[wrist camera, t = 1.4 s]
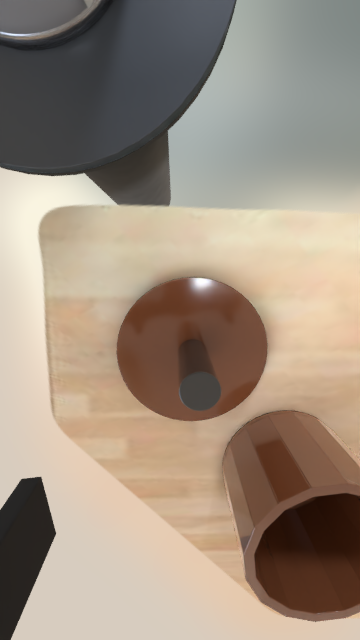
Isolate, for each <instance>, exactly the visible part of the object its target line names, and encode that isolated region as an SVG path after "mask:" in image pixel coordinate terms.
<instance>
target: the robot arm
mask: <svg viewBox="0 0 360 640" xmlns="http://www.w3.org/2000/svg"><path fill="white" fill-rule="evenodd" d="M112 2H113V0H0V45H2V46H6V47H10V48H14V49H20V50H44V49H50V48H54V47H58V46H61V45H64V44H66V43H68V42H70V41H73V40H74V39H76V38H78V37H79V36H81V35H83V34H84V33H85V32H86V31H88V30H89V29H90V28H91V27H92V26H93V25H94V24H96V23H97V22H98V21H99V19H100V18H101V17H102V16H103V15H104V13H105V12H106V11H107V9H108V8H109V6H110V5H111V3H112ZM55 535H56V532H55V528H54V524H53V520H52V516H51V513H50V509H49V505H48V502H47V497H46V494H45V490H44V486H43V482H42V479H41V477H35V478H27V479H21V481H20V482H19V484H18V485H17V487H16V488H15V490H14V491H13V493H12V494H11V495H10V497H9V498H8V500H7V501H6V503H5V504H4V506H3V507H2V508H1V510H0V640H11V637H12V635H13V633H14V630H15V628H16V626H17V623H18V621H19V619H20V616H21V614H22V612H23V609H24V607H25V605H26V602H27V600H28V597H29V595H30V593H31V591H32V588H33V586H34V584H35V582H36V579H37V577H38V575H39V572H40V570H41V568H42V565H43V563H44V561H45V558H46V556H47V553H48V551H49V549H50V546H51V544H52V542H53V539H54V537H55Z"/></svg>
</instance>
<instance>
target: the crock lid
mask: <svg viewBox="0 0 360 640" xmlns="http://www.w3.org/2000/svg"><path fill="white" fill-rule="evenodd" d="M266 358H267V338H266V332H265V329H264V325H263V323H262V321H261V318H260V316H259V314H258V313H257V311H256V310H255V308H254V307H253V306H252V304H251V303H250V302H249V301H248V300H247V299H246V298H245V297H244V296H243V295H242V294H241V293H239V292H238V291H236V290H235V289H233V288H232V287H230V286H228V285H226V284H224V283H221V282H218V281H215V280H212V279H207V278H200V277H186V278H179V279H174V280H171V281H168V282H165V283H162V284H160V285H158V286H156V287H154V288H153V289H151V290H150V291H148V292H147V293H145V294H144V295H143V296H142V297H141V298H140V299H139V300H138V301H137V302H136V303H135V304H134V305H133V306H132V308H131V309H130V311H129V312H128V314H127V315H126V317H125V319H124V321H123V323H122V325H121V329H120V332H119V336H118V342H117V359H118V365H119V369H120V372H121V375H122V377H123V380H124V382H125V383H126V385H127V387H128V389H129V390H130V391H131V392H132V394H133V395H134V396H135V397H136V398H137V399H138V400H139V401H140V402H141V403H142V404H143V405H145V406H146V407H147V408H149V409H151V410H152V411H154V412H156V413H158V414H160V415H163V416H165V417H168V418H172V419H177V420H184V421H197V420H205V419H210V418H213V417H217V416H219V415H222V414H224V413H226V412H228V411H230V410H231V409H233V408H235V407H236V406H237V405H239V404H240V403H241V402H243V401H244V400H245V399H246V398H247V397H248V396H249V395H250V393H251V392H252V391H253V389H254V388H255V387H256V385H257V383H258V382H259V380H260V378H261V375H262V373H263V371H264V367H265V364H266Z"/></svg>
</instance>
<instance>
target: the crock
mask: <svg viewBox="0 0 360 640" xmlns="http://www.w3.org/2000/svg"><path fill="white" fill-rule="evenodd" d="M222 466H223V476H224V484H225V489H226V493H227V498H228V502H229V507H230V511H231V516H232V520H233V525H234V529H235V533H236V538H237V542H238V547H239V551H240V556H241V560H242V565H243V569H244V574H245V578H246V581H247V582H248V584H249V585H250V587H251V588H252V590H253V591H254V593H255V594H256V595H257V597H258V598H259V600H260V601H261V602H262V603H263V604H265V605H267V606H269V607H270V608H272V609H274V610H275V611H277V612H279V613H280V614H282V615H284V616H286V617H292V618H297V619H303V620H308V621H315V622H316V621H324V620H333V619H341V618H346V617H349V616H352V615H354V614H356V613H359V612H360V459H359V458H358V457H357V456H356V455H355V454H354V453H353V452H352V451H351V450H350V449H349V447H348V446H347V445H346V444H345V443H344V442H343V441H342V440H341V439H340V438H339V437H338V435H337V434H336V433H335V432H334V431H333V430H331V429H330V428H329V427H328V426H327V425H325V424H324V423H323V422H322V421H320V420H319V419H317V418H315V417H313V416H311V415H309V414H305V413H302V412H297V411H277V412H272V413H268V414H265V415H262V416H260V417H257V418H255V419H253V420H252V421H250V422H248V423H247V424H246V425H244V426H243V427H242V428H241V429H240V430H239V431H238V432H237V433H236V434H235V435H234V436H233V438H232V439H231V441H230V442H229V444H228V446H227V448H226V451H225V454H224V458H223V465H222Z"/></svg>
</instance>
